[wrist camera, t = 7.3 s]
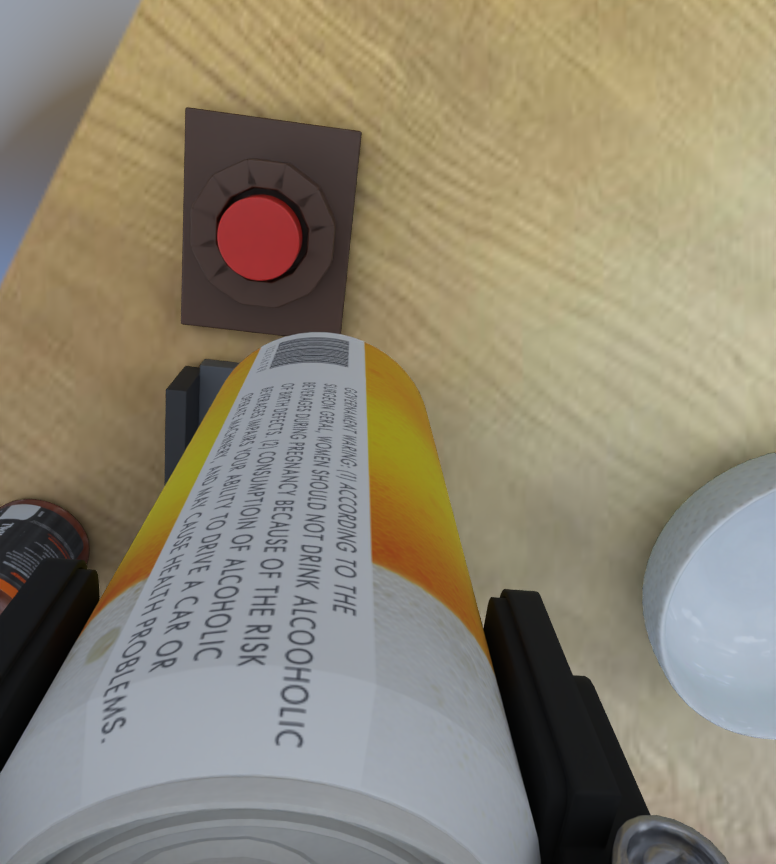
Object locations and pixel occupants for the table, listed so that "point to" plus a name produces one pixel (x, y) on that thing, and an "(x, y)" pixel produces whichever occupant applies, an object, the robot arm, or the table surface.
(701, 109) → the table surface
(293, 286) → the button block
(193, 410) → the dark grey cradle
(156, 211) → the table surface
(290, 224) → the button
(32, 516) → the supplement bottle
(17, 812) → the beer can
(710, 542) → the cereal bowl
